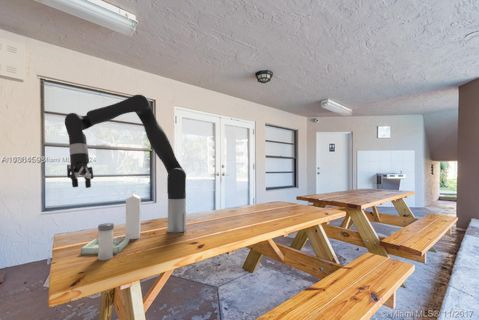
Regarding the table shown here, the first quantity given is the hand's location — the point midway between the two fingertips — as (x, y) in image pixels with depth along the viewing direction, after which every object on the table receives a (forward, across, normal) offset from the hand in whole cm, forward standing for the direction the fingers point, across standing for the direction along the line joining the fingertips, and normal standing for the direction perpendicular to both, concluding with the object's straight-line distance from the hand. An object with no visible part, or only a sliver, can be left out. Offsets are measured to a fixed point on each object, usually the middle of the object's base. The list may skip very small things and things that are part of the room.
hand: (82, 187), depth 115 cm
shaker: (+31, -18, -20) cm, 41 cm away
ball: (+27, -5, -18) cm, 33 cm away
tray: (+29, -8, -14) cm, 33 cm away
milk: (+28, +7, -18) cm, 34 cm away
